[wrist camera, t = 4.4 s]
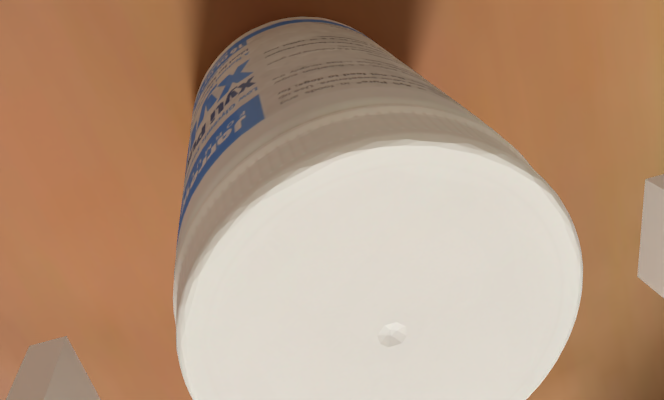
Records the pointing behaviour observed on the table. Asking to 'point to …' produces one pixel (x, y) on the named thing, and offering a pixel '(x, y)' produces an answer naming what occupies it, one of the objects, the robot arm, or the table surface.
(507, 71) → the table surface
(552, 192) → the supplement tub
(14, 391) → the robot arm
